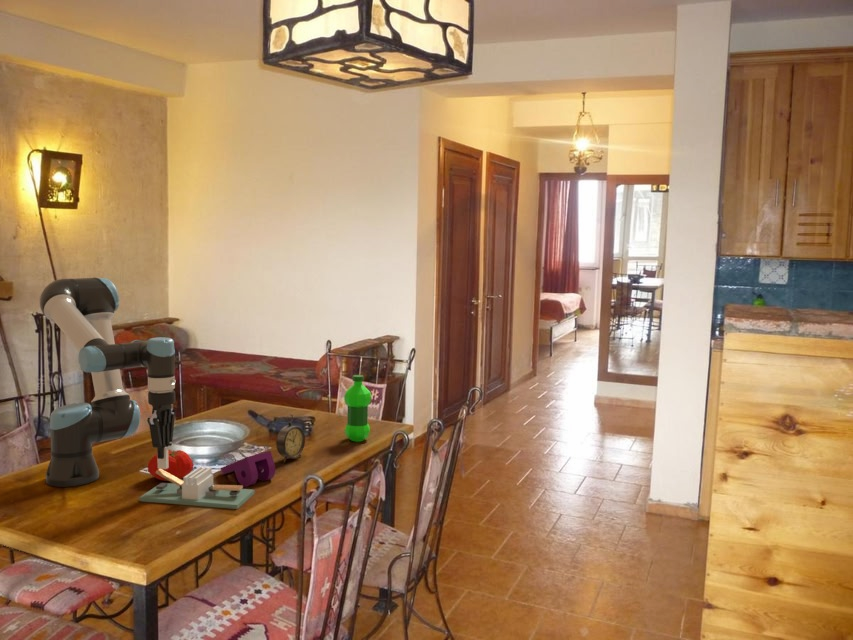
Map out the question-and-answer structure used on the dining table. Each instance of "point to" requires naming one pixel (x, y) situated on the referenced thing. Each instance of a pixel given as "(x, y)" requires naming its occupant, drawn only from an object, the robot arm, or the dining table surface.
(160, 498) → the board
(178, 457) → the tomato
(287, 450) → the alarm clock
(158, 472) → the strap
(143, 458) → the dining table surface
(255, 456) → the mounting bracket
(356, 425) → the plastic bottle
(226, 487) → the strap
